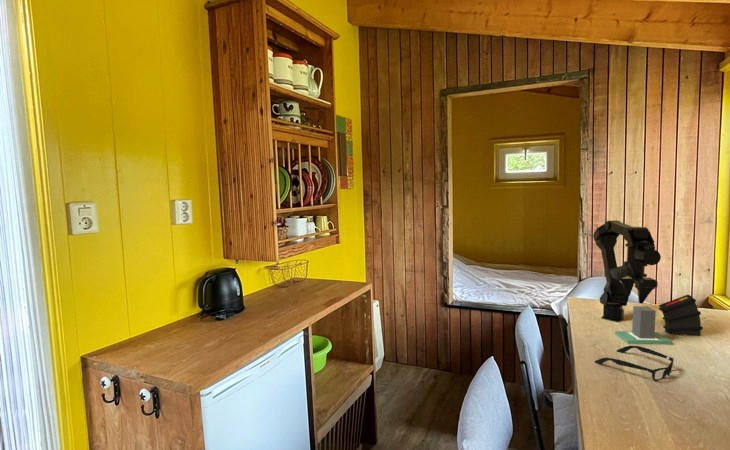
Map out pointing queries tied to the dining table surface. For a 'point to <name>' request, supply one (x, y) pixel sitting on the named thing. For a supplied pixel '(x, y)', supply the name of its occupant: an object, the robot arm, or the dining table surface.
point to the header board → (633, 339)
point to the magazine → (681, 316)
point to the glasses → (627, 364)
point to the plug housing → (643, 322)
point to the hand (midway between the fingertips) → (634, 299)
